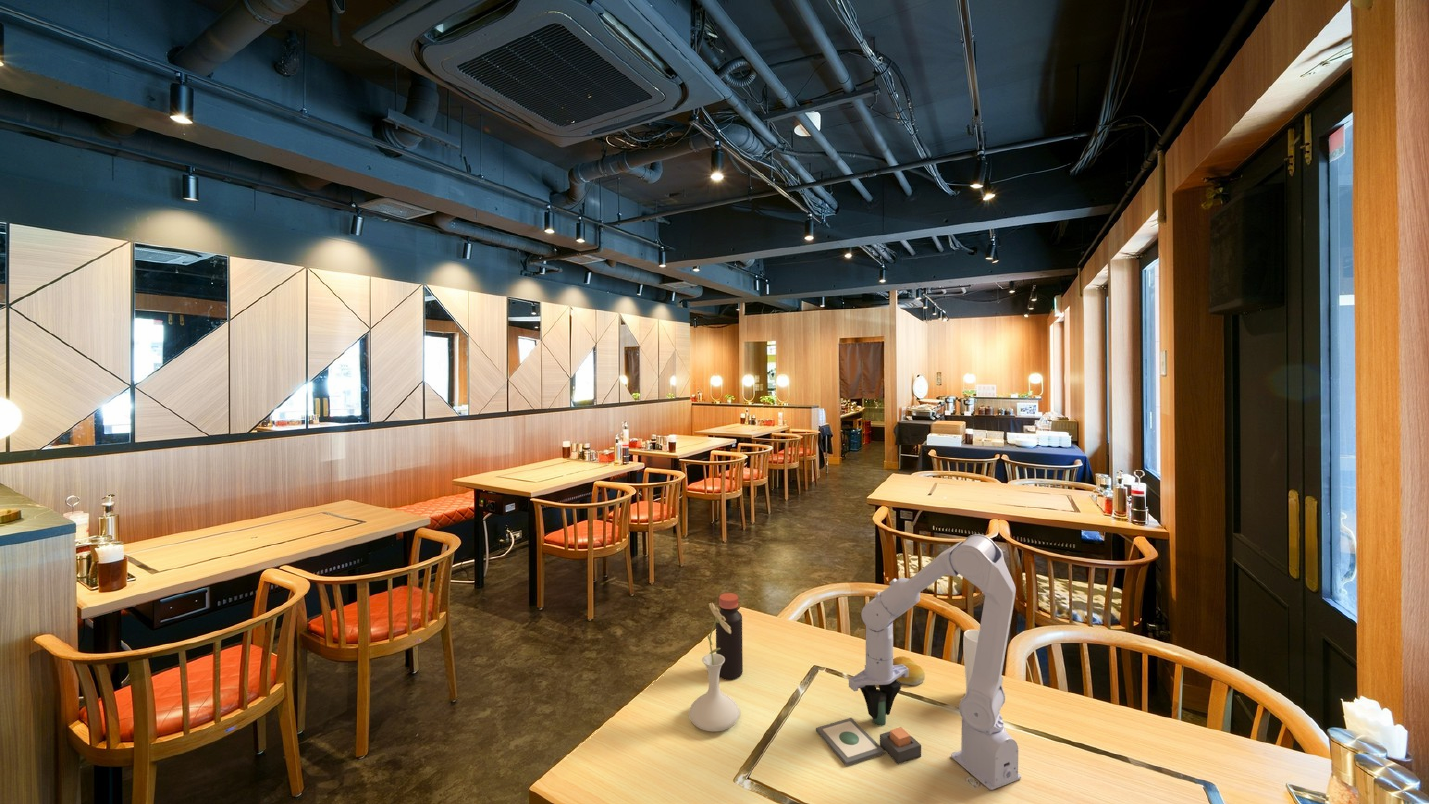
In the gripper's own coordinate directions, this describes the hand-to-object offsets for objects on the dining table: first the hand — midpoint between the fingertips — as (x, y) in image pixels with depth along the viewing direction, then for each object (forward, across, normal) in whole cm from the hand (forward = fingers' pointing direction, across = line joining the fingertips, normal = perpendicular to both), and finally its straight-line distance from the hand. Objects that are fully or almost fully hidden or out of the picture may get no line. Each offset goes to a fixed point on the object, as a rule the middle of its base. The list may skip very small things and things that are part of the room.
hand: (879, 714), depth 115 cm
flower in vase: (+2, +33, -15) cm, 36 cm away
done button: (0, +2, +9) cm, 9 cm away
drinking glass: (+2, -27, +2) cm, 27 cm away
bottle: (+2, +23, -30) cm, 38 cm away
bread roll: (+2, -18, -12) cm, 22 cm away
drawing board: (+2, +10, +3) cm, 11 cm away
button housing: (+2, +2, +9) cm, 9 cm away
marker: (+2, 0, 0) cm, 2 cm away
